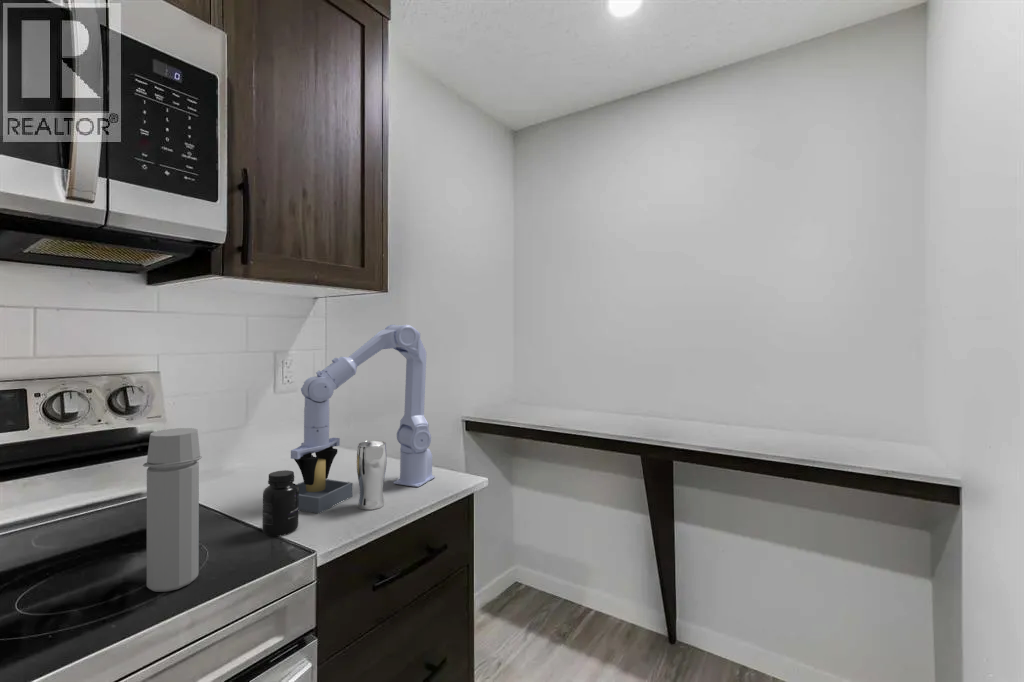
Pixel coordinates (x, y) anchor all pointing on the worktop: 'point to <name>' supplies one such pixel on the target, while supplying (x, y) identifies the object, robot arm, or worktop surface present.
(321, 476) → the peg
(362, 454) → the beer glass
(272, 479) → the supplement bottle
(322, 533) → the worktop surface
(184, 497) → the water bottle
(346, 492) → the bin
